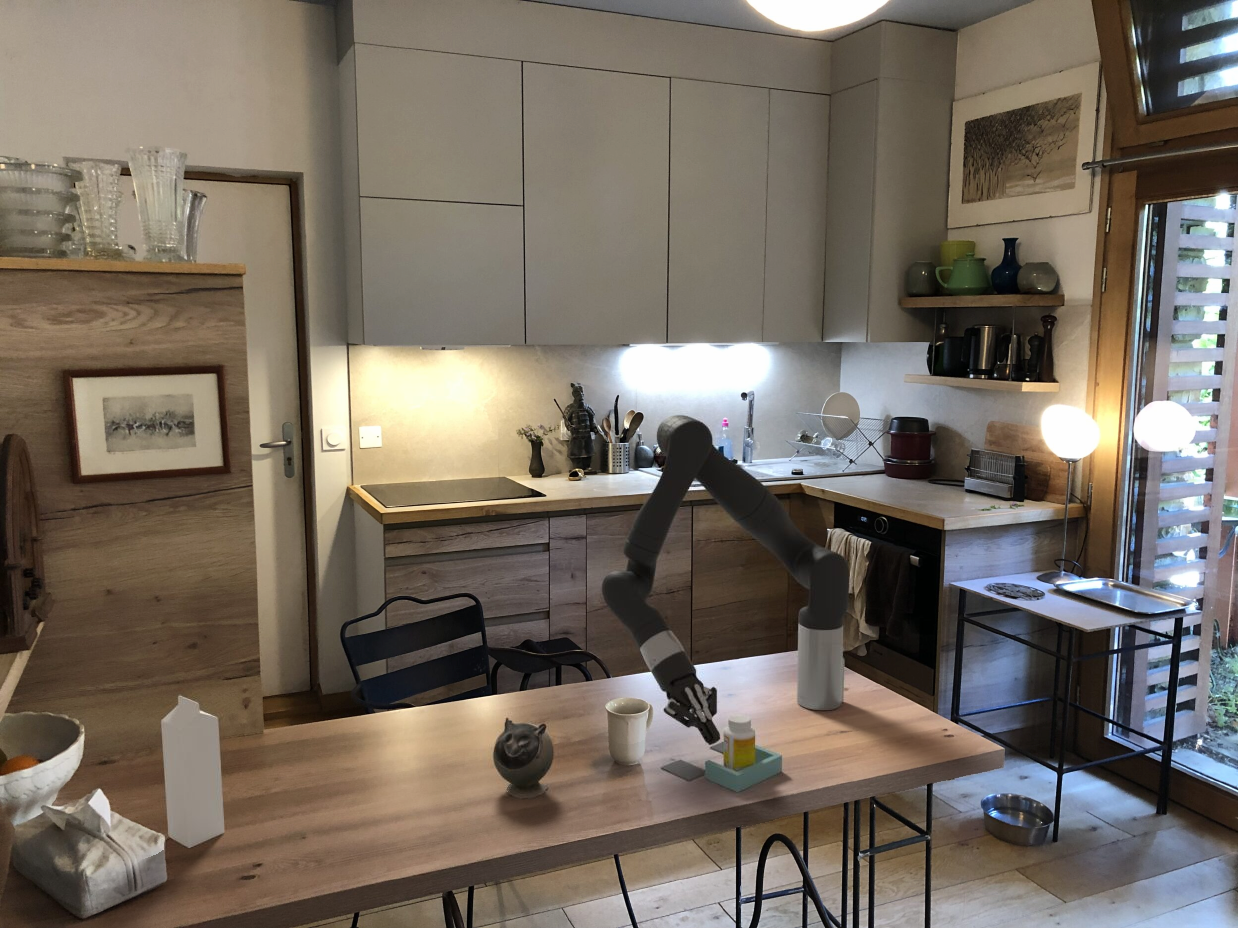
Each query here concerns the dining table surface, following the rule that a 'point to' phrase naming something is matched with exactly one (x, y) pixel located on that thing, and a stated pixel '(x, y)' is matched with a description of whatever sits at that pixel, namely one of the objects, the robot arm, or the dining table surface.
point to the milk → (192, 774)
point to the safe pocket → (745, 771)
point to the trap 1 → (684, 770)
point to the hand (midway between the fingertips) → (715, 741)
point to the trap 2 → (718, 747)
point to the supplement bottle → (739, 743)
